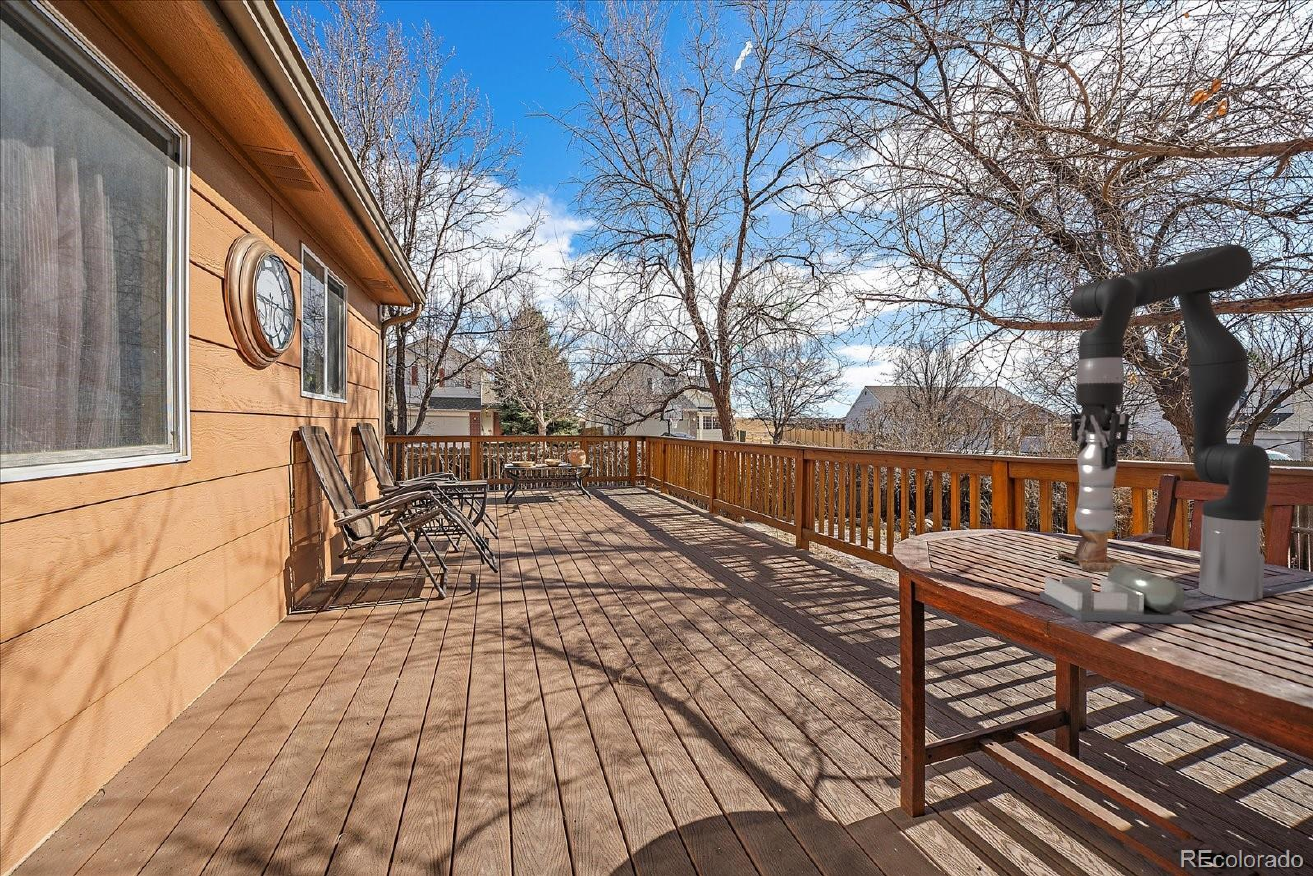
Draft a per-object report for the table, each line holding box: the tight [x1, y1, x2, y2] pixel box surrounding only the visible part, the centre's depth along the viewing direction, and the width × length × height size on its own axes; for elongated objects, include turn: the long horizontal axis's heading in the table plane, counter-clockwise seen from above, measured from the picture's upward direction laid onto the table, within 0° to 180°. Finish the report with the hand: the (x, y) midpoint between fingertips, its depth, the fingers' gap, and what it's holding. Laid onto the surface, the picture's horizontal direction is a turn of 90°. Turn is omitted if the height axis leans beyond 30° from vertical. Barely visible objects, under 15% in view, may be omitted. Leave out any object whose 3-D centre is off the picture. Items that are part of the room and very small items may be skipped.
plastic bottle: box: [1074, 433, 1119, 533], centre depth 119 cm, size 6×7×20 cm
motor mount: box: [1039, 563, 1193, 625], centre depth 120 cm, size 20×14×8 cm
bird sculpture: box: [1057, 494, 1127, 573], centre depth 152 cm, size 11×12×32 cm
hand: (1096, 464), depth 119 cm, fingers closed on plastic bottle, 6 cm apart
